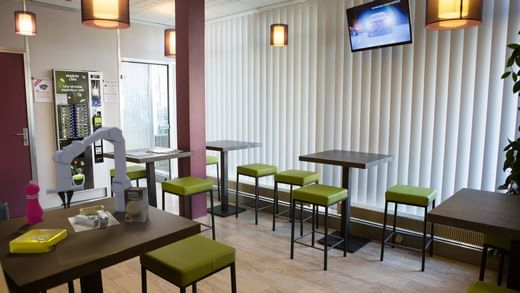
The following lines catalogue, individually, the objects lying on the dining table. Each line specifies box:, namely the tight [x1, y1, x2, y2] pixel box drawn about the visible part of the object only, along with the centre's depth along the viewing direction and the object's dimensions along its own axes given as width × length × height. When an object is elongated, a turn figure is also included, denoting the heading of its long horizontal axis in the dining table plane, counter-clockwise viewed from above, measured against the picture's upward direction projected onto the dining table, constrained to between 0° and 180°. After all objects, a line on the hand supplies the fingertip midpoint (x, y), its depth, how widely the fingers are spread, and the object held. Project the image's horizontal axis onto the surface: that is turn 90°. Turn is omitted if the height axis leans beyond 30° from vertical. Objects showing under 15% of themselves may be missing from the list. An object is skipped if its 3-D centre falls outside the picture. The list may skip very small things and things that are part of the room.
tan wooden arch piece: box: [79, 204, 106, 216], centre depth 177 cm, size 10×5×4 cm, turn 125°
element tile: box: [9, 228, 68, 254], centre depth 143 cm, size 15×15×5 cm
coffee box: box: [124, 186, 150, 223], centre depth 168 cm, size 9×6×16 cm
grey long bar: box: [97, 210, 109, 228], centre depth 168 cm, size 4×17×4 cm, turn 35°
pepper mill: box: [24, 180, 44, 226], centre depth 170 cm, size 7×7×20 cm
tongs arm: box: [74, 214, 99, 226], centre depth 164 cm, size 2×14×4 cm, turn 60°
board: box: [67, 210, 121, 233], centre depth 169 cm, size 18×24×1 cm
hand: (66, 207), depth 161 cm, fingers closed
